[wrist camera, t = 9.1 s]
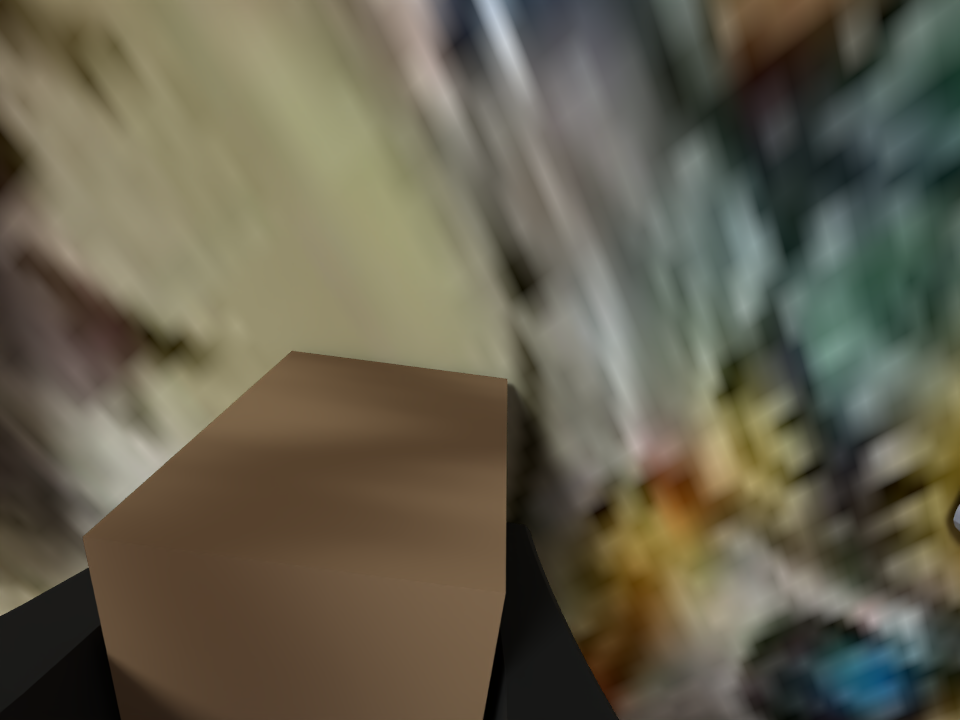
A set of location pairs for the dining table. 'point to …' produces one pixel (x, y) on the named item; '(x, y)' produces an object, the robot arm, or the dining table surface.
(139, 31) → the dining table surface
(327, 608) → the brown rectangular block
